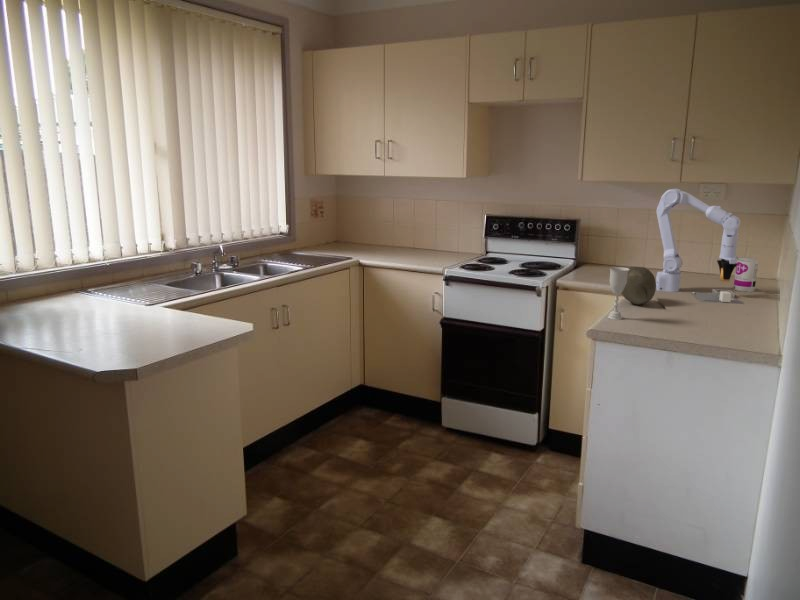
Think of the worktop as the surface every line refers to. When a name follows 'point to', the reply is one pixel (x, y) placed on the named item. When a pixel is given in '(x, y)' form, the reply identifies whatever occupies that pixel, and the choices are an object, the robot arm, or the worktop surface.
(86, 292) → the worktop surface
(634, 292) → the cantaloupe
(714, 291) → the frame
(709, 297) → the breaker panel
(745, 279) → the supplement can
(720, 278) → the cap
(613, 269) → the chalice
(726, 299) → the handle
